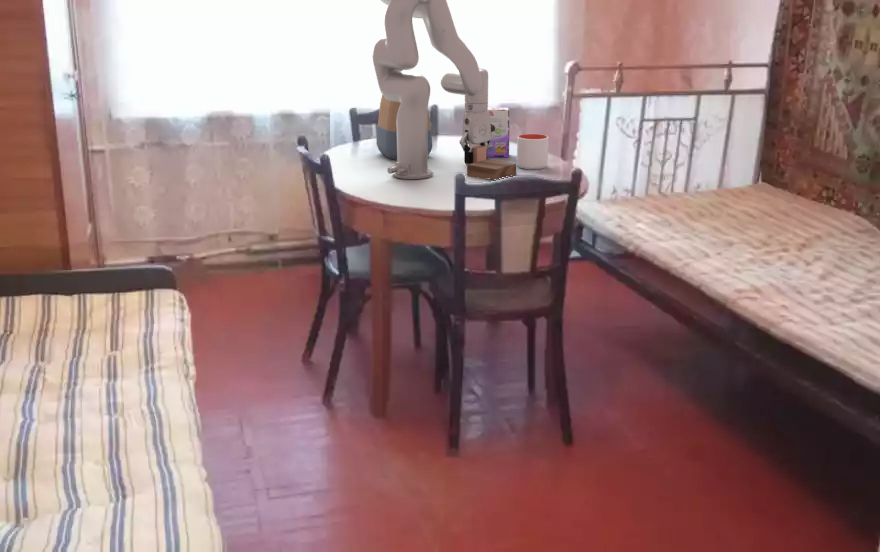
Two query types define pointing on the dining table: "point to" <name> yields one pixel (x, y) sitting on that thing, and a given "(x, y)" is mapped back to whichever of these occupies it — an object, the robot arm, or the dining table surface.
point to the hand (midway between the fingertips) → (475, 161)
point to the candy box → (499, 132)
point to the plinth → (491, 169)
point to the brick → (479, 153)
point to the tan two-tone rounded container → (393, 129)
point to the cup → (532, 151)
